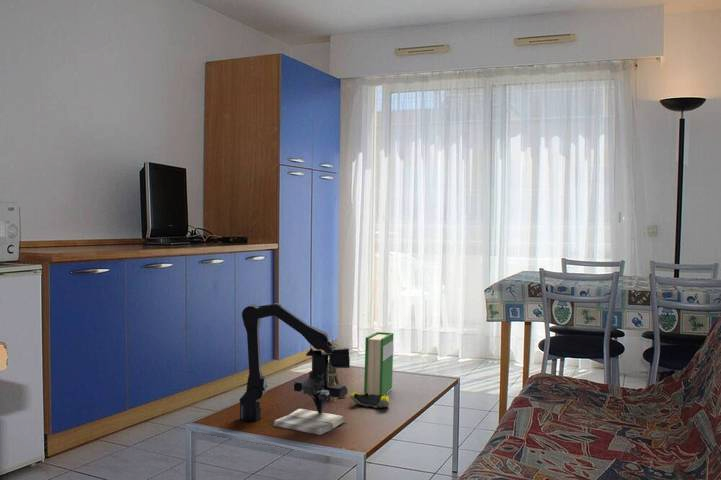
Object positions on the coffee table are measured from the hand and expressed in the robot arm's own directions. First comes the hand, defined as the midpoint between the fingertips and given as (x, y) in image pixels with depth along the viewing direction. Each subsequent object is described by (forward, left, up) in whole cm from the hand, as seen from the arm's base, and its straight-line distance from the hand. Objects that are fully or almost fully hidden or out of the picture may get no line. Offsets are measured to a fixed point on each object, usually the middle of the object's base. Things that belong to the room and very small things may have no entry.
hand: (320, 413), depth 226 cm
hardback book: (-3, +50, -3) cm, 50 cm away
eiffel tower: (-15, +32, -3) cm, 35 cm away
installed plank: (0, -11, -3) cm, 11 cm away
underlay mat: (0, -6, -3) cm, 7 cm away
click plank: (0, -3, -2) cm, 3 cm away
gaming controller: (+5, +29, -4) cm, 30 cm away
